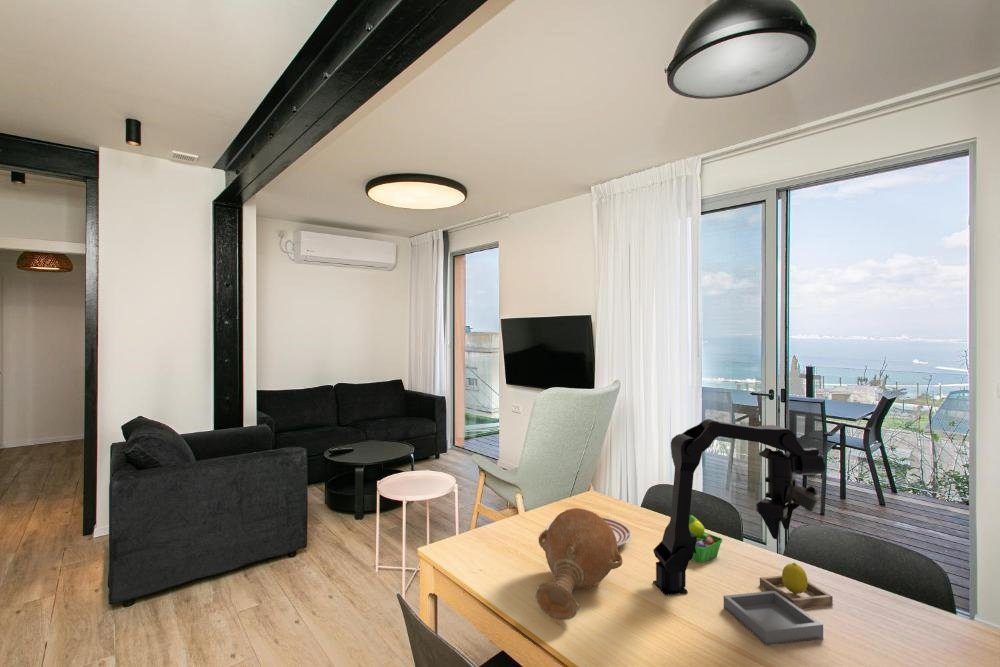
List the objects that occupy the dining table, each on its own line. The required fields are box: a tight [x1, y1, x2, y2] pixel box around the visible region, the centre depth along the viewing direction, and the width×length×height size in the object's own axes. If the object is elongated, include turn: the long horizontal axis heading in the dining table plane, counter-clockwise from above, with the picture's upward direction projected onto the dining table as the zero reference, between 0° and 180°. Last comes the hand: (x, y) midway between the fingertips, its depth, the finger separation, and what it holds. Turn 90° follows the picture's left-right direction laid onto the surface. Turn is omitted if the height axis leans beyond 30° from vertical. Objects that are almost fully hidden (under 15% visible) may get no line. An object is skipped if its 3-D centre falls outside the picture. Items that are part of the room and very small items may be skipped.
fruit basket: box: [689, 514, 723, 564], centre depth 140 cm, size 11×9×11 cm
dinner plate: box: [545, 516, 633, 548], centre depth 152 cm, size 28×27×3 cm
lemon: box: [781, 562, 809, 596], centre depth 118 cm, size 6×6×8 cm
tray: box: [723, 590, 824, 646], centre depth 106 cm, size 14×14×3 cm
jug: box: [534, 507, 623, 621], centre depth 119 cm, size 20×19×30 cm
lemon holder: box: [759, 575, 834, 609], centre depth 118 cm, size 11×11×2 cm
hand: (781, 533), depth 122 cm, fingers open, 9 cm apart
